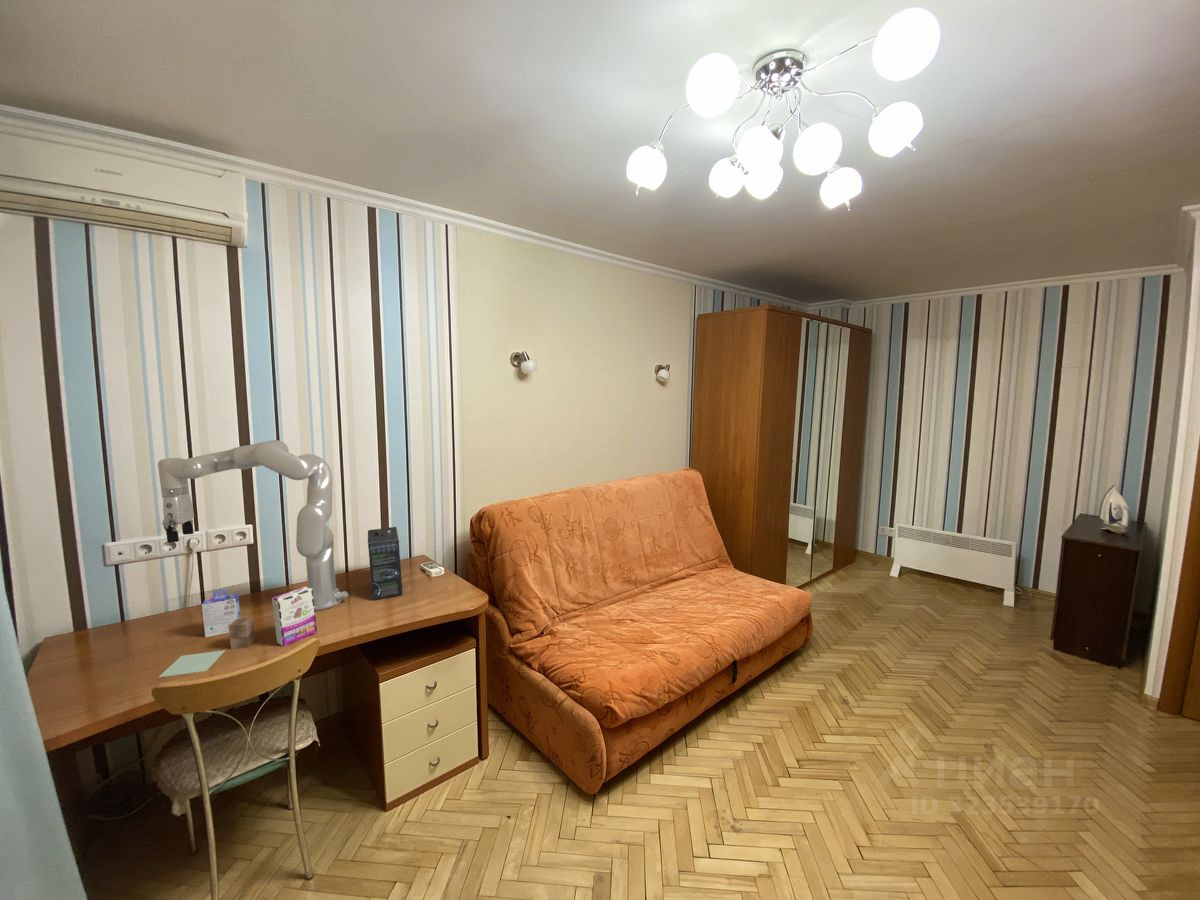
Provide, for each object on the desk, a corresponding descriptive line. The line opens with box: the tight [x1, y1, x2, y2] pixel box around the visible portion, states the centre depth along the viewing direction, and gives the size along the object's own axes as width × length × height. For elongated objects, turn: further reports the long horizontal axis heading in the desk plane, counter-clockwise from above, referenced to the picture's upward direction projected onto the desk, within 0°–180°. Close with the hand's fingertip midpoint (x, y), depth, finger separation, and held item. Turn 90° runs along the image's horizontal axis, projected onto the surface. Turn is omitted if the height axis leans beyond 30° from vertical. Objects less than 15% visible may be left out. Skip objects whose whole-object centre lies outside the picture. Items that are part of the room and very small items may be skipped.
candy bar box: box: [271, 585, 318, 647], centre depth 166 cm, size 11×5×16 cm, turn 148°
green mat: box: [158, 650, 226, 678], centre depth 151 cm, size 12×12×1 cm
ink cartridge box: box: [201, 589, 242, 638], centre depth 171 cm, size 10×6×14 cm, turn 120°
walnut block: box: [228, 617, 256, 650], centre depth 162 cm, size 5×5×8 cm
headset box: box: [367, 526, 403, 601], centre depth 206 cm, size 22×12×26 cm, turn 25°
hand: (181, 537), depth 178 cm, fingers open, 9 cm apart
